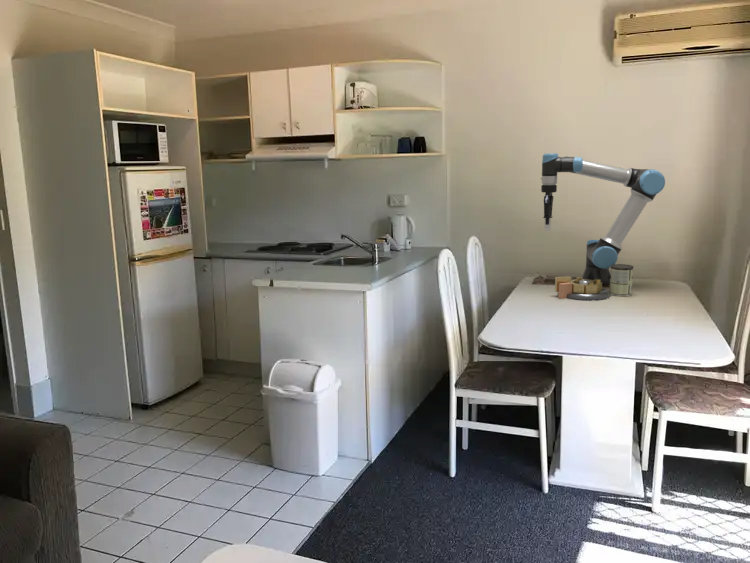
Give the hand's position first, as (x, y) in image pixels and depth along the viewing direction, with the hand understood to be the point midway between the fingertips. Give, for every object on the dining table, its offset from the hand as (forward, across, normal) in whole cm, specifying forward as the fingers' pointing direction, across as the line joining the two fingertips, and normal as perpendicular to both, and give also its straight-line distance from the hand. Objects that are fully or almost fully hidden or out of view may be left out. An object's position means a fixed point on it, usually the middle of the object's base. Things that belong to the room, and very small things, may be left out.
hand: (547, 230), depth 319 cm
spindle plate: (+29, +12, +21) cm, 38 cm away
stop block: (+29, +22, +14) cm, 39 cm away
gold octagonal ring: (+27, +14, +18) cm, 36 cm away
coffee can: (+30, +4, +37) cm, 48 cm away
